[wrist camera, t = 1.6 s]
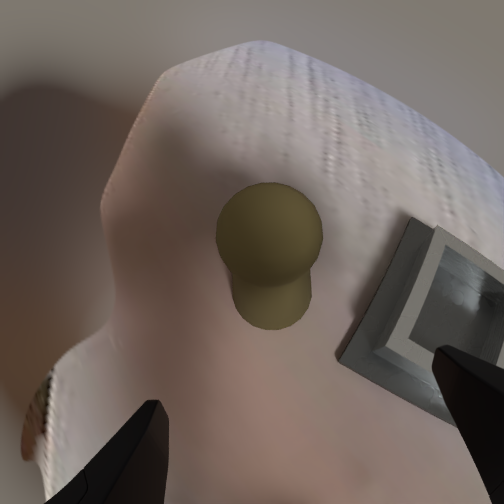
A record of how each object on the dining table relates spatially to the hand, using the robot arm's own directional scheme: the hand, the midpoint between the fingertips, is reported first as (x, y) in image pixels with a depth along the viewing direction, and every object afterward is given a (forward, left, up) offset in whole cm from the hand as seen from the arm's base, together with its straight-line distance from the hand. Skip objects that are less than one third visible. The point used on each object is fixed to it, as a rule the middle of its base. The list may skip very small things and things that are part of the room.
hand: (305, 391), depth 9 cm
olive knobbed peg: (+5, +5, -13) cm, 15 cm away
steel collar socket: (+10, -9, -13) cm, 19 cm away
